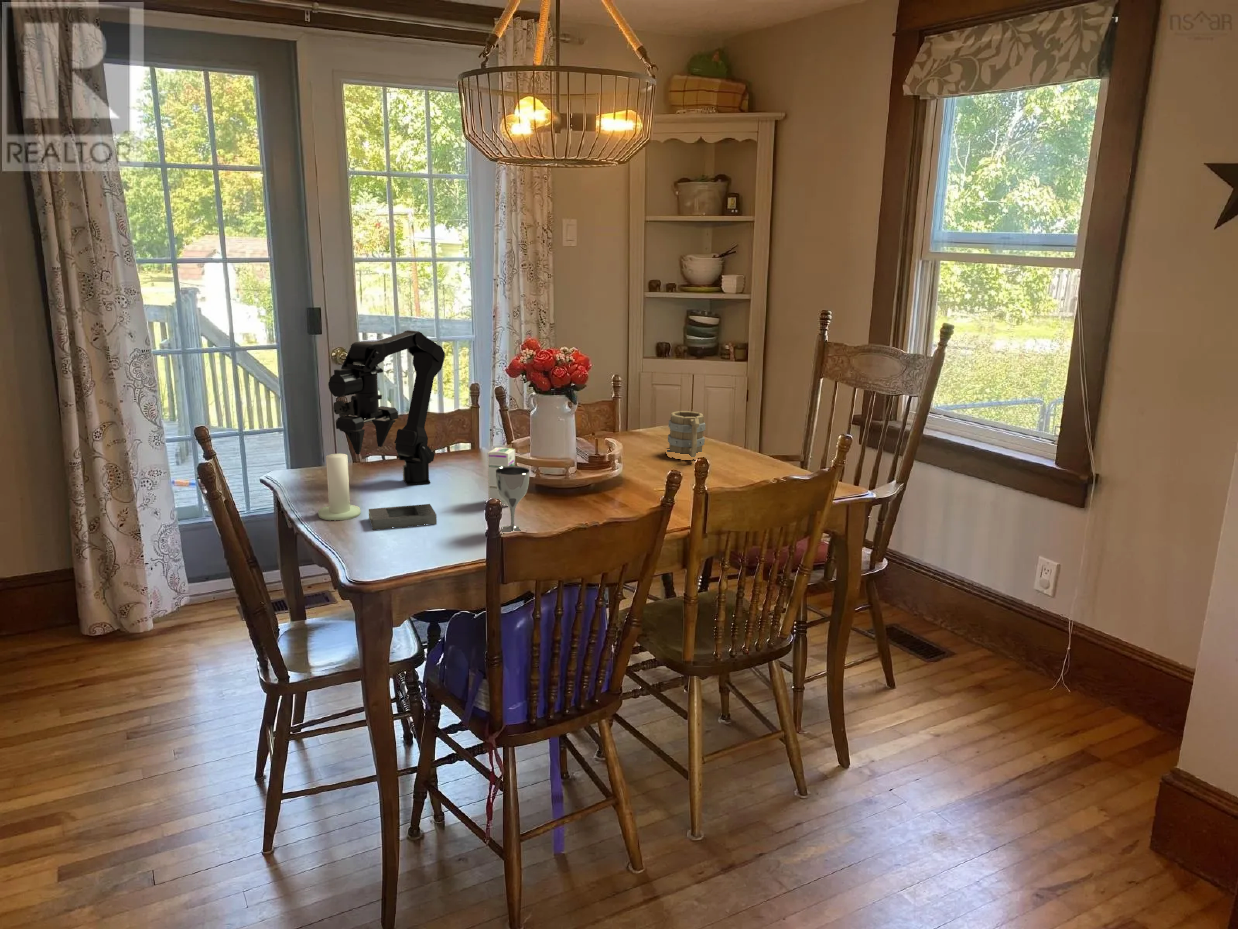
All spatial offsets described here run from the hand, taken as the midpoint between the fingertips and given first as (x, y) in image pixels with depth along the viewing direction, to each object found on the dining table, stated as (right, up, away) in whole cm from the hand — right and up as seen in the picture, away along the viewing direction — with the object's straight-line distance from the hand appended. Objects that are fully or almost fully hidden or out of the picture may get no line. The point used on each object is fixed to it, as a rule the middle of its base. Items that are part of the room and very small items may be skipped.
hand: (369, 450), depth 232 cm
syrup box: (+35, -14, +2) cm, 37 cm away
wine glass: (+40, -20, -18) cm, 48 cm away
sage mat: (-4, -16, -11) cm, 20 cm away
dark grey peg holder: (+12, -18, -15) cm, 26 cm away
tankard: (+88, -2, +54) cm, 103 cm away
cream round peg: (-4, -15, -11) cm, 19 cm away
